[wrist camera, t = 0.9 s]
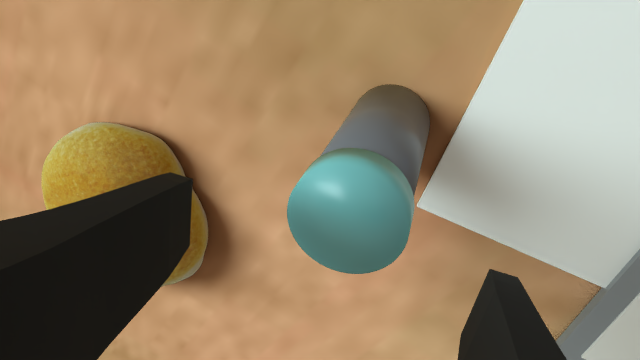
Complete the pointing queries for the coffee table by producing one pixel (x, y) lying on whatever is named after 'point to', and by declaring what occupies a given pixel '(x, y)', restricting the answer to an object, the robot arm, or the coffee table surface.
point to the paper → (553, 140)
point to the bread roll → (117, 175)
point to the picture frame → (608, 321)
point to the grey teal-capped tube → (363, 184)
